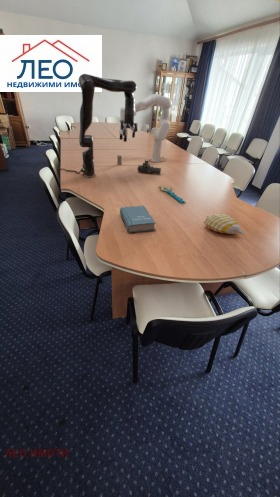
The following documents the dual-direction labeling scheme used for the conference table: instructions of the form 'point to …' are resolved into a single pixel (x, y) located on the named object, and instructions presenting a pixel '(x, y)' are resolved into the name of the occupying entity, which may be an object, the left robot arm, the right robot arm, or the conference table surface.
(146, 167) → the laser sight
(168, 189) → the logo
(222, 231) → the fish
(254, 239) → the conference table surface
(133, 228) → the book
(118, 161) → the tin
